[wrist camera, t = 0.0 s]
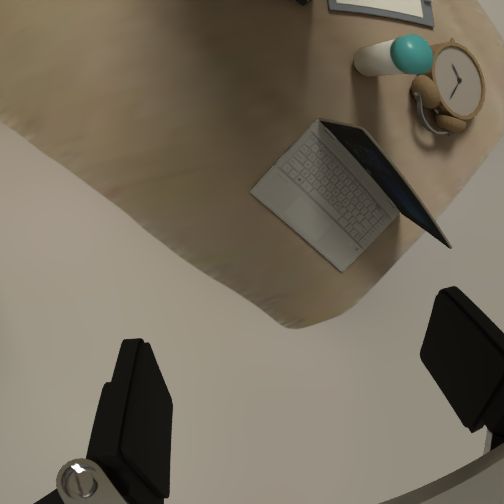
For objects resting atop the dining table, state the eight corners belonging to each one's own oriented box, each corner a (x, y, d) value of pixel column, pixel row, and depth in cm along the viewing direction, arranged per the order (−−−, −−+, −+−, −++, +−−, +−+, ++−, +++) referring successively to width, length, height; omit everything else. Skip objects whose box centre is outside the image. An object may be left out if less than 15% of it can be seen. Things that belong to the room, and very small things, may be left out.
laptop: (248, 190, 39) (264, 230, 28) (317, 116, 36) (364, 124, 25) (340, 270, 46) (377, 325, 34) (399, 209, 43) (454, 247, 31)
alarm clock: (493, 82, 32) (464, 156, 34) (471, 84, 37) (440, 153, 39) (450, 25, 28) (414, 96, 31) (428, 32, 33) (390, 100, 35)
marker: (347, 47, 32) (397, 31, 21) (376, 49, 32) (431, 38, 22) (350, 76, 34) (401, 71, 23) (378, 78, 34) (434, 76, 24)
